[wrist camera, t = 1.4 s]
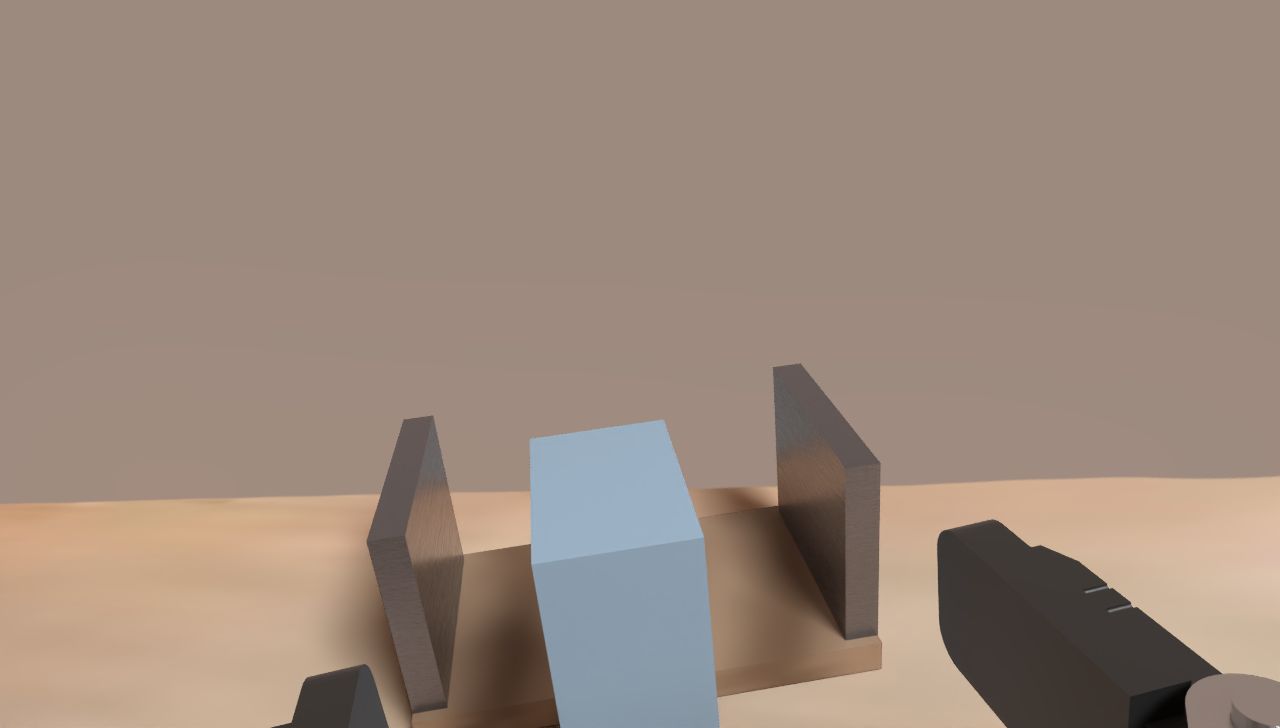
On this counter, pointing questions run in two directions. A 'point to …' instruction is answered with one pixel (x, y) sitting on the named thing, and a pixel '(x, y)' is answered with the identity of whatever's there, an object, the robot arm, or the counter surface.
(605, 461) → the book
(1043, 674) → the robot arm
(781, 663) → the book stand
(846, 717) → the counter surface
